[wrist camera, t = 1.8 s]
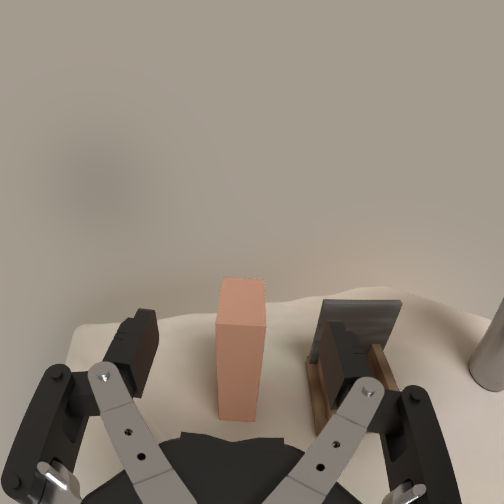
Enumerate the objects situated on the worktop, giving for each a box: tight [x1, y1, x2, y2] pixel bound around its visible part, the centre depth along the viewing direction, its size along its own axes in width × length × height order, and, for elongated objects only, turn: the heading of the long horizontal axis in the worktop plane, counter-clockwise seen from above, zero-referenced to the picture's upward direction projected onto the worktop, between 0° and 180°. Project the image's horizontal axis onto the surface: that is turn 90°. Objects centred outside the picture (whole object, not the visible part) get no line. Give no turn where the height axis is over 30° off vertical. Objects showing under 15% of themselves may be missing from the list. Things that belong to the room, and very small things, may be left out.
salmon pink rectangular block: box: [216, 277, 266, 421], centre depth 30 cm, size 7×4×15 cm, turn 0°
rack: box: [306, 299, 402, 437], centre depth 31 cm, size 12×10×12 cm
